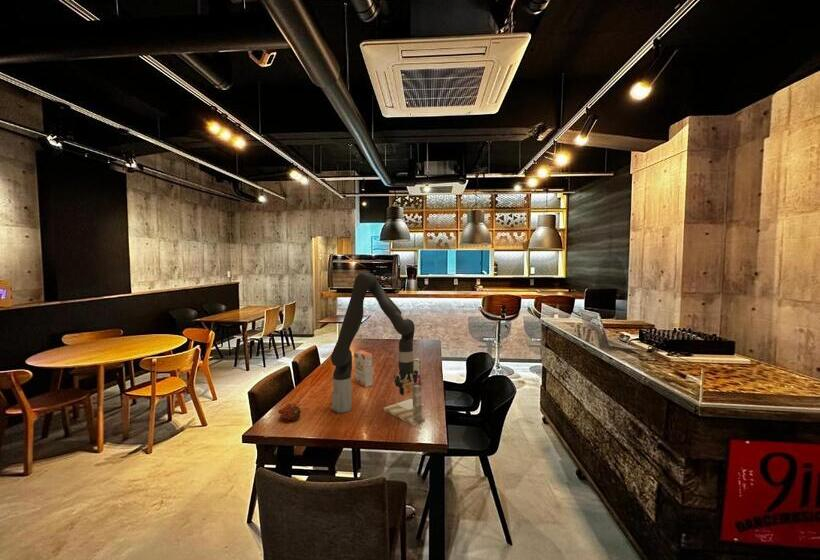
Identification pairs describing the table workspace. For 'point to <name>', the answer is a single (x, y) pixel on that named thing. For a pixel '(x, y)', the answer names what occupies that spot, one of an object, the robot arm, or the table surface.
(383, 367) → the table surface
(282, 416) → the brown rounded piece
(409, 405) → the mat
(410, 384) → the loop
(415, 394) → the hook stand
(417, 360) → the candy bar box
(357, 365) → the cracker box
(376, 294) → the robot arm
